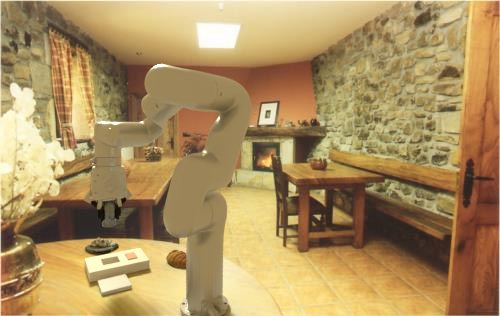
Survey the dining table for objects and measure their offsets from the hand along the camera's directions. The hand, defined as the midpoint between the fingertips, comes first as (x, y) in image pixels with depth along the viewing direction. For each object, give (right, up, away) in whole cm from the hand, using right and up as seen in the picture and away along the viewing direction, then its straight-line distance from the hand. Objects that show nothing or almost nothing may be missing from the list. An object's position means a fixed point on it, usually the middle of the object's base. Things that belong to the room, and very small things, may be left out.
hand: (109, 218), depth 100 cm
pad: (+4, -19, -6) cm, 20 cm away
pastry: (+20, -18, +11) cm, 29 cm away
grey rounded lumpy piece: (-12, -16, +21) cm, 29 cm away
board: (0, -17, +6) cm, 18 cm away
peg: (0, -2, 0) cm, 2 cm away
